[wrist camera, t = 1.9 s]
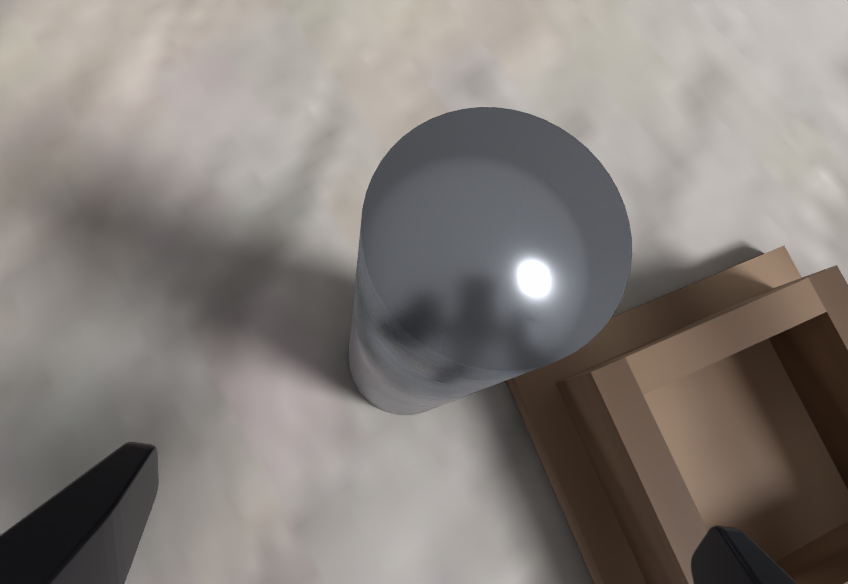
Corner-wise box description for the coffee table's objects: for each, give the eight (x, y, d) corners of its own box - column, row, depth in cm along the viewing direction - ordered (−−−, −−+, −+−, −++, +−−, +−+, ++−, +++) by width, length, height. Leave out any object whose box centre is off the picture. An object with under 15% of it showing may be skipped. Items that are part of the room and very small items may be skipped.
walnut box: (649, 710, 19) (726, 776, 16) (499, 364, 22) (533, 347, 18) (925, 549, 22) (1048, 570, 18) (766, 253, 24) (847, 217, 20)
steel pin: (373, 433, 20) (426, 416, 8) (331, 324, 21) (319, 151, 9) (479, 388, 21) (678, 309, 9) (435, 285, 22) (561, 77, 10)
